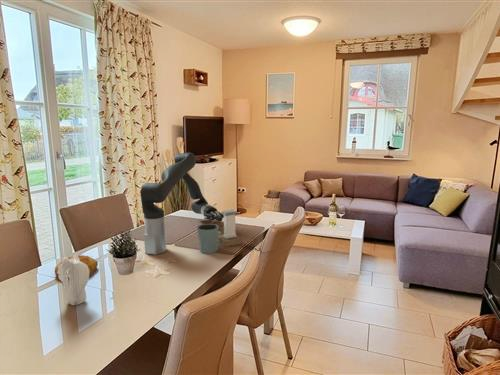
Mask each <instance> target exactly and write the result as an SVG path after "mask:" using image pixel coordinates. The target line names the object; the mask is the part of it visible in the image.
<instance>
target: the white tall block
mask: <svg viewBox="0 0 500 375" xmlns="http://www.w3.org/2000/svg"><path fill="white" fill-rule="evenodd" d="M221 213H222V214H223V215H224V218H223V227H224V235H223V237H224V238H225V239H229V238H234V237H237V236H238V235H237V233H236V215H237V210H235V209H228V210H227V209H226V210H222V211H221Z"/></svg>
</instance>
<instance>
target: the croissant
mask: <svg viewBox="0 0 500 375" xmlns="http://www.w3.org/2000/svg"><path fill="white" fill-rule="evenodd" d="M71 257H72V258H71ZM78 257H79V260H80V261H81V262H83V263H85V264H86V265H87V266H88V268H89V277H90V276H92V275H93V273H94V272H95V270H96V269H97V267H98V265H99V264H98V261H97V259H94V258H92V257H91V256H89V255H84V254H82V255H78ZM67 258H68V259H69V260H70V259H71V260H72V259H73V260H74V257H73V256H68V257H67ZM73 260H72V261H73ZM62 262H63V259H62V260H61V261H60V262H59V263H58V264H57V265H56V266H55V268H54V275H55V276H56V278H58V276H59V274H58V273H57V271H58V266H60V265H61V264H62ZM68 272H69V271H68ZM66 274H67V272H66ZM67 275H68V274H67ZM68 280H69V282H70V279H69V276H68Z"/></svg>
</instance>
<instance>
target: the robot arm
mask: <svg viewBox="0 0 500 375" xmlns="http://www.w3.org/2000/svg"><path fill="white" fill-rule="evenodd" d="M196 161H197V158H196V155H195V154H194V153H193V152H184V153H183V152H181V153H177V154H176V155H175V156H174V163H173V164H170V165H169V166H167V167H166V168H165V169H164V170H163V172H162V173H161V181H162V182H158V183H157V182H145V183H143V184H142V185H141V187H140V201H141V211H142V214H143V219H144V220H143V221H144V234H143V240H144V241H143V242H144V254H148V255H154V256H156V255H158V254H159V255H160V254H163V253H165V252H166V251H167V242H166V241H167V240H166V238H167V237H166V222H165V210H164V209H162V208H161V207H158V206H157V205H156V204H160V203H163V202H165V201H166V199H167V198H168V196H169V195H170V193H171V192H172V191H173V189H174V188H175V186H176V185H177V184H178V183H179V182H180V181H181V180H182V179H183V182H184V183H185V186H186V188H187V190H188V194H189V196H190V198H191V199H192V200H194V201H193V202H192V203H191V205H190V210H192V212H193V213H195V214H199V215H202V216H203V218H204V219H203V220H208V221H218V222H222V221H223V220H224V215H223V214H222V212H220V211H219V210H218V209H217V208H216V207H214V206H213V205H211V204H209V203H208V201H207V199H206V198H205V197H204V195H203V193H202V191H201V187H200V185H199V183H198V182H197V181H196V180H195V178H193V177H192V176H191V175H190V174H189V171H191V170H192V169H193V168H194V167H195V166H196ZM195 200H196V201H195Z"/></svg>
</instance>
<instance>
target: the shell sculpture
mask: <svg viewBox="0 0 500 375" xmlns="http://www.w3.org/2000/svg"><path fill="white" fill-rule="evenodd" d="M72 255H73V256H70V257H71V258H72V257H74V260H73V259H72V260H73V261H72V260H71V259H70V260H69V259H68V257H67V256H63V257H62V260H63V262H62V261H61V262H62V264H61V265H60V266H58V271H57V273H58V274H59V276H58V277H57V279H59V280H60V281H61V282H62V284H63V287H64V295H65V299H66V301H67V302H68V304H70V305H71V306H77V305H79V304H82V303H84V302H85V301H86V300H87V293H86V286H87V284H88V282H89V280H90V278H89V277H90V276H89V268H88V266H87V265H86V264H85V263H83V262H81V261H80V260H79V257H78V256H79V255H78V254H77V253H76V252H74V254H72ZM68 271H69V272H68ZM66 272H67V274H68V275H67V274H66ZM68 276H69V279H70V281H69V280H68Z"/></svg>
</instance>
